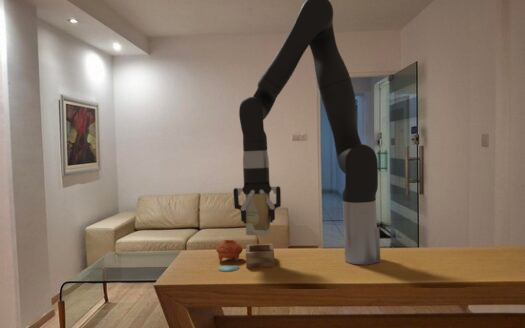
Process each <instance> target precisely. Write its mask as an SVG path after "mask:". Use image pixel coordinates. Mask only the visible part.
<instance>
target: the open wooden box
mask: <svg viewBox="0 0 525 328" xmlns="http://www.w3.org/2000/svg"><path fill="white" fill-rule="evenodd" d="M275 264H276V263H275V250H274V244H273V243H262V244H261V243H259V244H258V243H257V244H255V243H254V244H246V246H245V268H246V269H252V268H272V267H273V268H274V267H276V266H275Z"/></svg>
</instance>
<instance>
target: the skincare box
mask: <svg viewBox="0 0 525 328" xmlns="http://www.w3.org/2000/svg"><path fill="white" fill-rule="evenodd" d="M270 193H271V192H270ZM270 193H269V194H267V193H265V194H254V195H253V196H252V198H251V200H250V202H249V203H248V205H247V207H246V208H245V210H246V223H245V233H246V236H259V237H260V236H261V237H266V236H267V235H270V234H271V222H270V207H269V205H268V204H267V197H268V198H269V199H270V198H271V197H270ZM248 195H249V194H247V195H245V199H246V198H247V197H248ZM249 198H250V197H249ZM270 200H271V199H270Z"/></svg>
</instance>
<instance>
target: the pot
mask: <svg viewBox="0 0 525 328" xmlns="http://www.w3.org/2000/svg"><path fill="white" fill-rule="evenodd" d="M215 251H216V252H217V255H218V261H219V262H222V261H223V258H224V259H228V260H229V259H231V260H232V259H235V262H238V261H239V258H240V254H242V252H243V246H242V245H241V244H240V243H238V242H237V241H236V240H235V239H224V240H223V242H222V243H220V244H219V245H217V248H216V250H215Z"/></svg>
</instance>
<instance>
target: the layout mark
mask: <svg viewBox="0 0 525 328" xmlns="http://www.w3.org/2000/svg"><path fill="white" fill-rule="evenodd" d="M239 269H240V266H239V265H236V264H235V265H234V264H226V265H222V266H219V267H218V268H217V270H218V271H219V272H223V273H224V272H226V273H227V272H228V273H229V272H234V271H237V270H239Z"/></svg>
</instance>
